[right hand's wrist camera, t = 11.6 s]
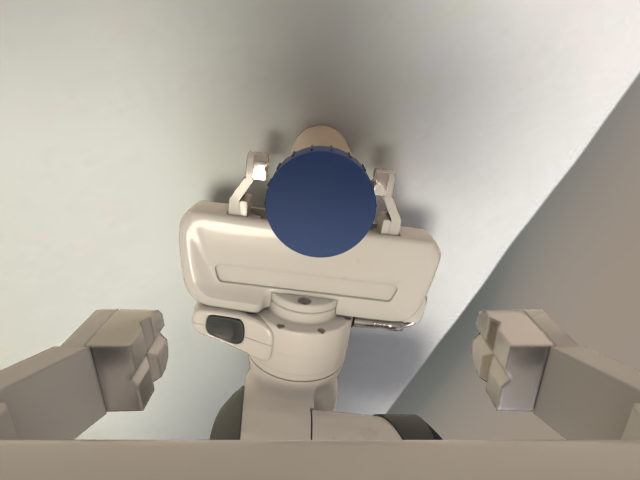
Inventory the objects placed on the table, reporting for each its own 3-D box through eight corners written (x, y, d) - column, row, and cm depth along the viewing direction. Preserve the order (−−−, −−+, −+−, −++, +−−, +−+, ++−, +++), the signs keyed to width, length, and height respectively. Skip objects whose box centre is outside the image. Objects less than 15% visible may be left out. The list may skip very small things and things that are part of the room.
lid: (325, 264, 24) (326, 278, 22) (247, 201, 22) (241, 212, 21) (394, 192, 22) (401, 202, 20) (314, 120, 21) (314, 124, 19)
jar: (323, 194, 36) (325, 266, 22) (280, 157, 35) (253, 209, 21) (361, 152, 35) (388, 200, 21) (317, 112, 34) (315, 135, 20)
